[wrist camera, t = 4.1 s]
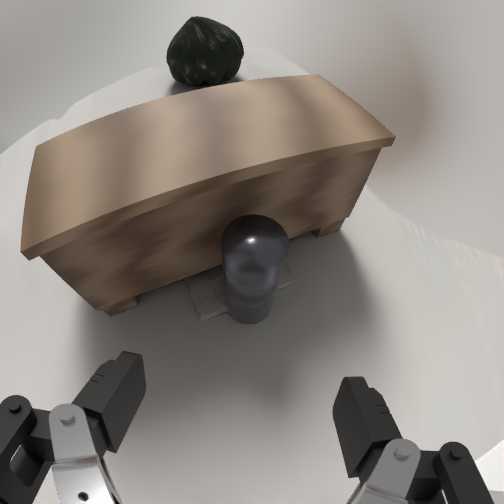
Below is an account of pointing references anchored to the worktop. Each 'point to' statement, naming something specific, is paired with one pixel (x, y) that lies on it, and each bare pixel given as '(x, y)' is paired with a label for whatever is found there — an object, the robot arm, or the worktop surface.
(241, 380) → the worktop surface
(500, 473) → the milk
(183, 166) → the cabinet
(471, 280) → the worktop surface
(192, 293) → the joystick
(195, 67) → the squash
